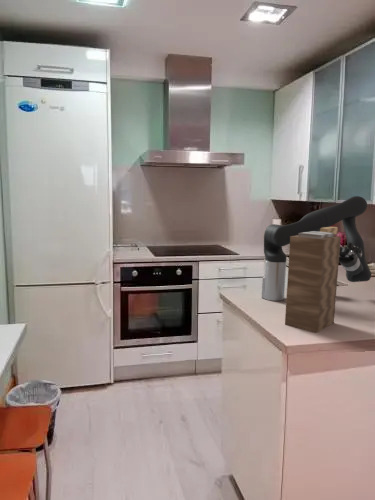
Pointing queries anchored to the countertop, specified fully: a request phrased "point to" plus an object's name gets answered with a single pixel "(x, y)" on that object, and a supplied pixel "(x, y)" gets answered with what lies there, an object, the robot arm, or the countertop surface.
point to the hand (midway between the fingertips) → (337, 243)
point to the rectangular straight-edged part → (320, 233)
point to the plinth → (312, 282)
